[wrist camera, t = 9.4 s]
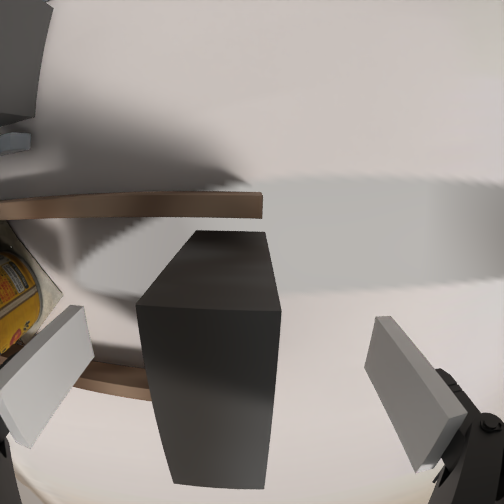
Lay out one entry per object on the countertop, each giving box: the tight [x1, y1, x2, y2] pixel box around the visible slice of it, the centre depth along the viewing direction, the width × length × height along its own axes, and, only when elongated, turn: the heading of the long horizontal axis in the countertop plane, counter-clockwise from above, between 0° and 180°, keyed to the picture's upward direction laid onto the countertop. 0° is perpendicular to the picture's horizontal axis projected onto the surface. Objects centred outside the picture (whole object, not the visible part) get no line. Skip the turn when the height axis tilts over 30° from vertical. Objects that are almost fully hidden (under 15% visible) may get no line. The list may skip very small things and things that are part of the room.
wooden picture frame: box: [0, 191, 282, 489], centre depth 12 cm, size 22×12×9 cm, turn 88°
